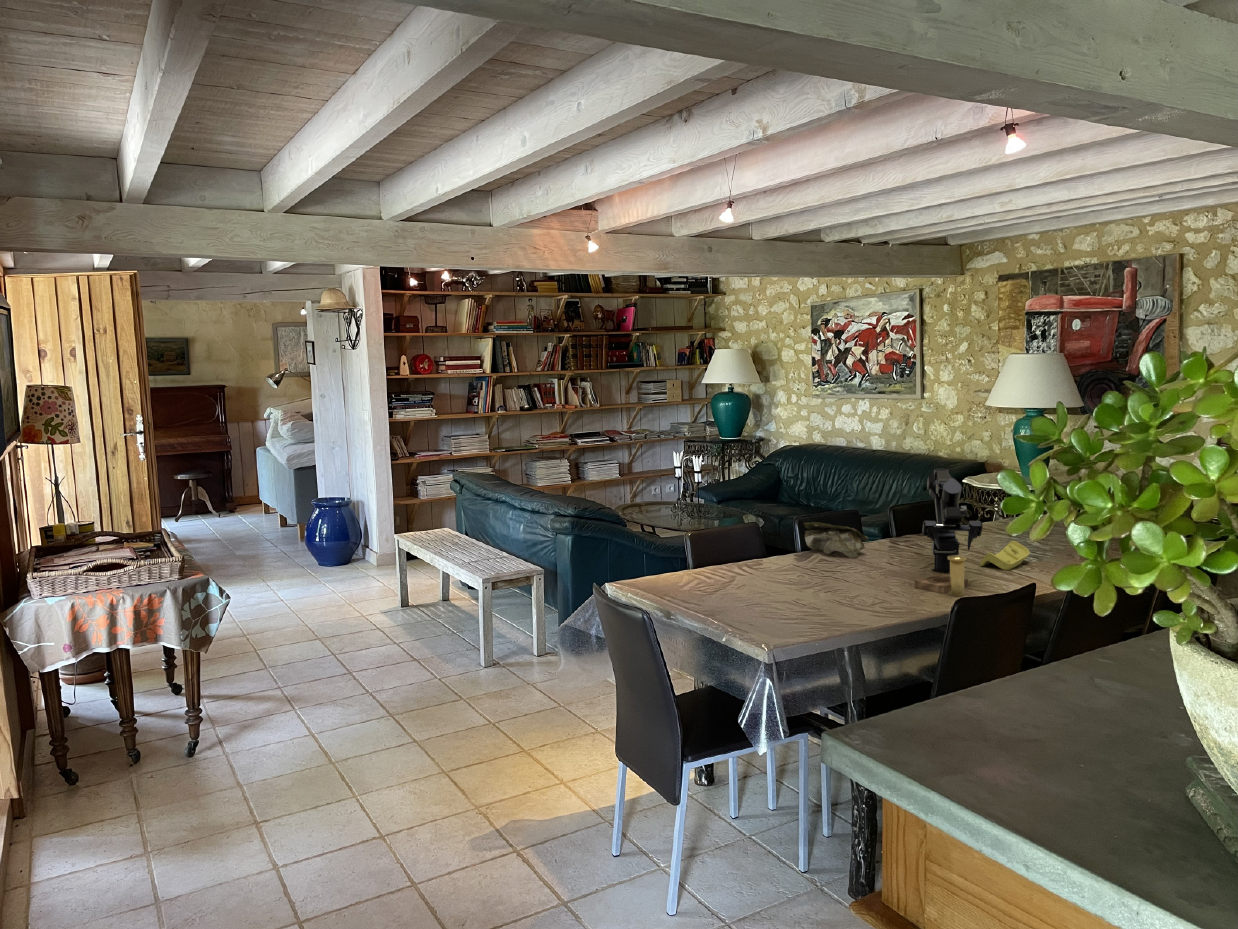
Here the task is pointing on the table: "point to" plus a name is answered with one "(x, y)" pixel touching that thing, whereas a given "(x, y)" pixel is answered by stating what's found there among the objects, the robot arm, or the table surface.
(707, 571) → the table surface
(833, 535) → the hollow geode rock
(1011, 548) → the plastic component
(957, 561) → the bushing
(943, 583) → the jig
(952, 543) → the robot arm
